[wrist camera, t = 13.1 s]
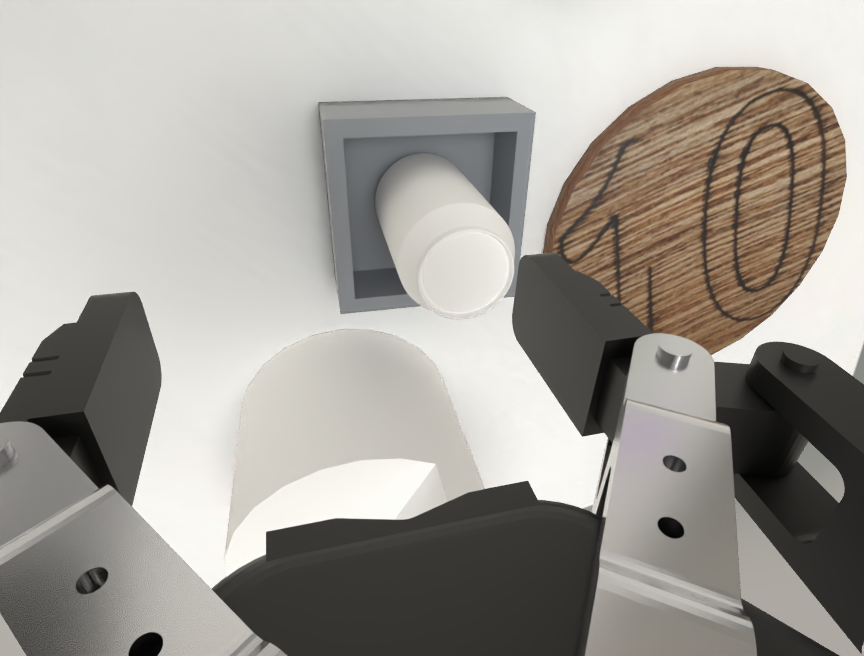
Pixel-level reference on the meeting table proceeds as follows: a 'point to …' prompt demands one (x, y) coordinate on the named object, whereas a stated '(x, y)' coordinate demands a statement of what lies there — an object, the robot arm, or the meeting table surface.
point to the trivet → (706, 201)
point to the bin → (402, 136)
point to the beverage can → (444, 237)
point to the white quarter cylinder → (344, 439)
